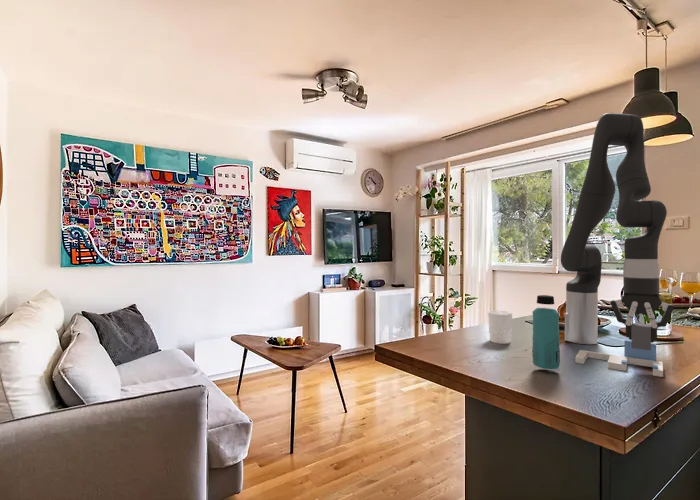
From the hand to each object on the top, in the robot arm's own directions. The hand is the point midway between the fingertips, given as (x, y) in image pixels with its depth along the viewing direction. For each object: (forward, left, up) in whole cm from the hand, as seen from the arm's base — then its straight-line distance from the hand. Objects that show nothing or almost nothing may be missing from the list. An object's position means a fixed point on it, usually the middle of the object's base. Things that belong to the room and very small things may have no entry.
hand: (641, 340), depth 99 cm
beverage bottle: (-20, -17, -8) cm, 27 cm away
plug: (0, 0, -2) cm, 2 cm away
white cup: (-39, +7, -8) cm, 40 cm away
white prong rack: (-5, +1, -8) cm, 9 cm away
